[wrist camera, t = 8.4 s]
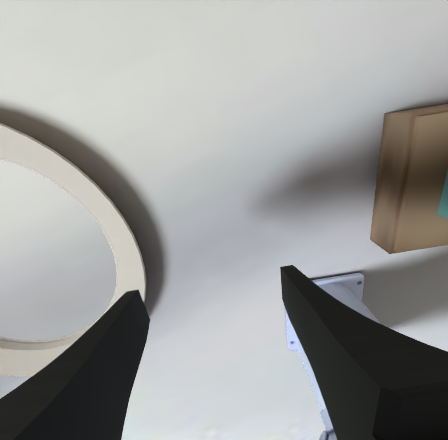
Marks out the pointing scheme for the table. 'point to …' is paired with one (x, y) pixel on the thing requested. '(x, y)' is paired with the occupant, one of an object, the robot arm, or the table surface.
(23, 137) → the plate
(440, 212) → the teal cube
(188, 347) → the table surface
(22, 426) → the robot arm
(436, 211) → the walnut plinth
